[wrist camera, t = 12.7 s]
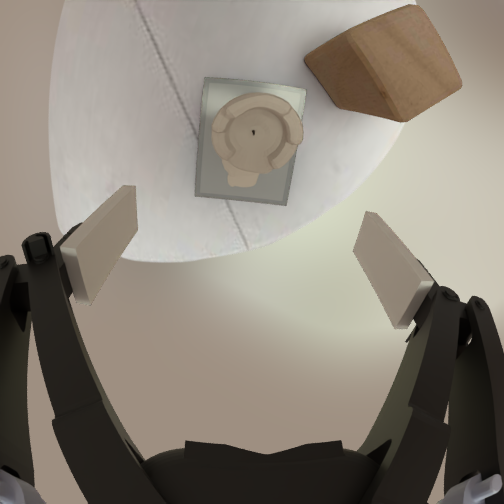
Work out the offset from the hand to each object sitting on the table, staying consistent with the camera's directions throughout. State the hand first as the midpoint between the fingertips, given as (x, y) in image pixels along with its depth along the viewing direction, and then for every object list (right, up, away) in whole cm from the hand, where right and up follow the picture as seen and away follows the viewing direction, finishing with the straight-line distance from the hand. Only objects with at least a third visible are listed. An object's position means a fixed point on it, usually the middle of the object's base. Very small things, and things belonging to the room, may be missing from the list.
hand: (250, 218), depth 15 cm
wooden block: (+14, +26, +18) cm, 35 cm away
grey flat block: (-1, +15, +24) cm, 29 cm away
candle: (0, +13, +22) cm, 26 cm away
